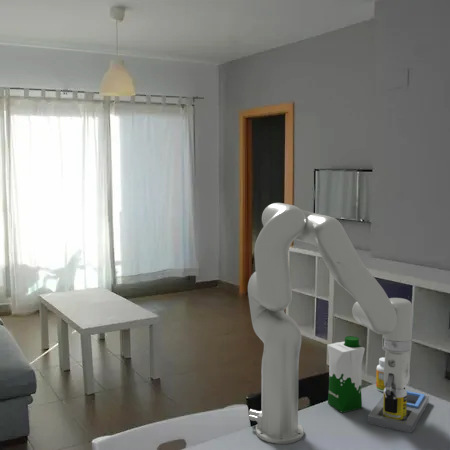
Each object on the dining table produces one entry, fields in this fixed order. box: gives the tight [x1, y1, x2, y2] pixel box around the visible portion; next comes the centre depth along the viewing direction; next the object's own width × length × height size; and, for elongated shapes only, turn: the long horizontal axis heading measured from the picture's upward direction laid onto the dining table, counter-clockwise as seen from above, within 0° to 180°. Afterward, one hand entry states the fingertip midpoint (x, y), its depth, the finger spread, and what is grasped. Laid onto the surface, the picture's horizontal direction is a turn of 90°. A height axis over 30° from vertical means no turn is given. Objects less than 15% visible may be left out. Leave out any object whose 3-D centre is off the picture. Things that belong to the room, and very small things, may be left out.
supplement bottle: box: [375, 356, 386, 393], centre depth 174 cm, size 5×5×10 cm
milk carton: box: [327, 335, 366, 413], centre depth 162 cm, size 9×9×20 cm
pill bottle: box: [382, 385, 408, 422], centre depth 153 cm, size 6×6×11 cm
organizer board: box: [367, 390, 430, 434], centre depth 158 cm, size 12×22×3 cm, turn 149°
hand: (394, 405), depth 153 cm, fingers open, 7 cm apart
